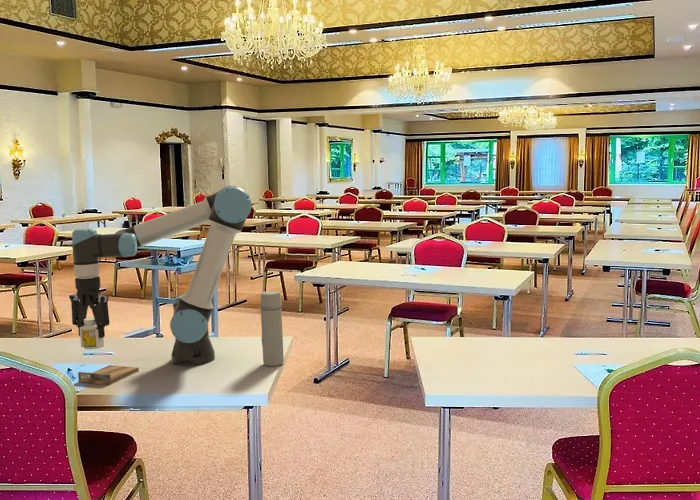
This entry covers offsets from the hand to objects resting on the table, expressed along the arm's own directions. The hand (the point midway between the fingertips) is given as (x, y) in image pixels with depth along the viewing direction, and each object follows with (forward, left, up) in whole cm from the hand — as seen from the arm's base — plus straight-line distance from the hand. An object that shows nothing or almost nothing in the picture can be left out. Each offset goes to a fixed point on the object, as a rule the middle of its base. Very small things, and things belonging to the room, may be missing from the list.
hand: (92, 346), depth 214 cm
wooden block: (-3, -3, -11) cm, 12 cm away
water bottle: (-50, -29, -11) cm, 59 cm away
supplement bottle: (0, 0, -1) cm, 1 cm away
